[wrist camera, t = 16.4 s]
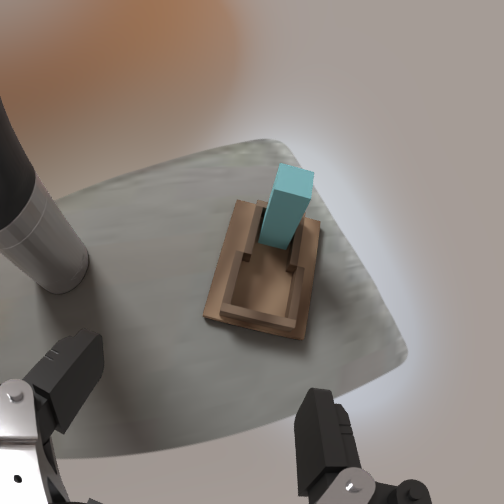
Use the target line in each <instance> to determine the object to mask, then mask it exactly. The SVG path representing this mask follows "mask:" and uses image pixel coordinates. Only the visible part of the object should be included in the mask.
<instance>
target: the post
mask: <svg viewBox="0 0 504 504" xmlns="http://www.w3.org/2000/svg"><path fill="white" fill-rule="evenodd" d="M313 178H314V172H311V171H308V170H304V169H301V168H297V167H294V166H290V165H286V164H282V163H280V165H279V168H278V172H277V175H276V178H275V182H274V185H273V188H272V192H271V195H270V199H269V202H268V205H267V209H266V212H265V215H264V219H263V223H262V227H261V231H260V236H259V240H258V243H260V244H264V245H268V246H272V247H276V248H280V249H284V250H286V249H287V247H288V245H289V243H290V241H291V239H292V237H293V235H294V233H295V231H296V229H297V227H298V225H299V223H300V220H301V218H302V216H303V214H304V212H305V210H306V208H307V206H308V204H309V202H310V200H311V195H312V187H313Z"/></svg>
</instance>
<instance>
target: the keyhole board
mask: <svg viewBox="0 0 504 504" xmlns="http://www.w3.org/2000/svg"><path fill="white" fill-rule="evenodd" d="M267 205H268V202H264V201H260V200H257V203H256V204H253V203H249V202H245V201H241V200H237V201H236V204H235V207H234V211H233V214H232V217H231V220H230V223H229V227H228V230H227V233H226V237H225V240H224V243H223V247H222V250H221V253H220V257H219V260H218V263H217V267H216V270H215V273H214V277H213V280H212V284H211V287H210V291H209V294H208V298H207V301H206V305H205V308H204V312H203V317H205V318H209V319H212V320H216V321H220V322H224V323H228V324H232V325H236V326H240V327H244V328H248V329H252V330H256V331H261V332H265V333H270V334H274V335H279V336H283V337H288V338H292V339H297V340H303V339H304V336H305V330H306V324H307V318H308V312H309V306H310V299H311V292H312V285H313V278H314V271H315V263H316V256H317V247H318V239H319V230H320V221H317V220H313V219H309V218H306V217H305V212H304V214H303V216H302V218H301V220H300V223H299V225H298V227H297V229H296V231H295V233H294V235H293V237H292V239H291V241H290V243H289V245H288V247H287V249H286V250H284V249H280V248H276V247H272V246H268V245H264V244H260V243H258V240H259V236H260V231H261V227H262V223H263V219H264V215H265V212H266V209H267Z"/></svg>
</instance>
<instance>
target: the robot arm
mask: <svg viewBox="0 0 504 504" xmlns="http://www.w3.org/2000/svg"><path fill="white" fill-rule="evenodd" d="M0 252H1V253H2V254H3V255H4V256H5V257H6V258H7V259H9V260H10V261H11V262H12V263H13V264H14V265H16V266H17V267H18V268H19V269H20V270H22V271H23V272H24V273H25V274H27V275H28V276H29V277H30V278H32V279H33V280H34V281H35V282H36V283H38V284H39V285H40V286H42V287H43V288H44V289H46V290H47V291H49V292H51V293H55V294H62V293H65V292H68V291H70V290H72V289H73V288H75V287H76V286H77V285H78V284H79V283H80V281H81V280H82V279H83V277H84V275H85V273H86V270H87V267H88V253H87V249H86V247H85V245H84V244H83V242H82V241H81V240H80V238H79V237H78V236H77V234H76V233H75V231H74V230H73V228H72V227H71V225H70V224H69V223H68V221H67V220H66V218H65V217H64V215H63V214H62V212H61V211H60V209H59V208H58V206H57V205H56V203H55V202H54V200H53V199H52V197H51V196H50V194H49V193H48V191H47V189H46V188H45V186H44V185H43V183H42V182H41V180H40V178H39V176H38V175H37V173H36V171H35V170H34V168H33V166H32V164H31V163H30V161H29V159H28V158H27V156H26V154H25V152H24V150H23V148H22V146H21V144H20V142H19V140H18V138H17V136H16V134H15V132H14V130H13V128H12V126H11V124H10V122H9V119H8V116H7V114H6V111H5V109H4V106H3V104H2V100H1V98H0ZM103 370H104V356H103V341H102V336H101V335H100V334H98V333H95V332H93V331H90V330H87V329H85V328H83V329H81V330H80V331H79V332H78V333H77V334H76V336H75V337H74V338H73V337H71V336H68V337H66V338H64V339H62V340H60V341H58V342H57V343H56V344H55V345H54V346H53V347H52V348H51V351H50V350H49V351H48V352H47V353H46V355H45V357H43V358H42V359H41V360H40V361H39V362H38V363H37V364H36V365H35V366H34V367H33V368H32V369H31V371H30V372H29V373H28V374H27V375H26V376H25V377H24V378H23V379H22V380H20V379H11V380H8V381H6V382H4V383H3V384H0V504H102V503H100V502H97V501H95V500H93V499H91V498H89V500H88V502H87V503H80V502H70V500H69V497H68V494H67V492H66V489H65V487H64V485H63V483H62V480H61V477H60V473H59V470H58V465H57V461H56V457H55V452H54V448H53V443H52V438H51V434H52V433H53V431H54V430H56V431H58V432H60V433H62V434H65V432H66V430H67V429H68V427H69V426H70V424H71V422H72V421H73V419H74V418H75V416H76V414H77V413H78V411H79V410H80V408H81V407H82V405H83V404H84V402H85V401H86V399H87V397H88V396H89V394H90V393H91V391H92V390H93V388H94V387H95V385H96V384H97V382H98V381H99V379H100V378H101V376H102V373H103ZM350 426H351V424H350V420H349V416H348V413H347V412H346V411H345V410H344V408H343V407H342V405H341V404H334V400H333V396H332V392H331V391H330V390H326V389H317V388H310V389H309V391H308V392H307V394H306V396H305V398H304V400H303V402H302V404H301V406H300V408H299V410H298V412H297V414H296V417H295V422H294V433H295V447H296V463H297V479H298V496H305V497H307V496H308V497H309V504H432V502H431V498H430V495H429V491H428V489H427V487H426V486H425V485H424V484H423V483H421V482H420V481H417V480H413V479H411V480H406V481H403V482H402V483H401V484H400V485H398V486H393V485H388V484H383V483H378V482H375V481H374V479H373V477H372V476H371V474H370V473H368V472H367V471H365V470H363V469H362V468H361V464H360V460H359V456H358V452H357V448H356V443H355V439H354V436H353V431H352V428H351V427H350Z"/></svg>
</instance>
